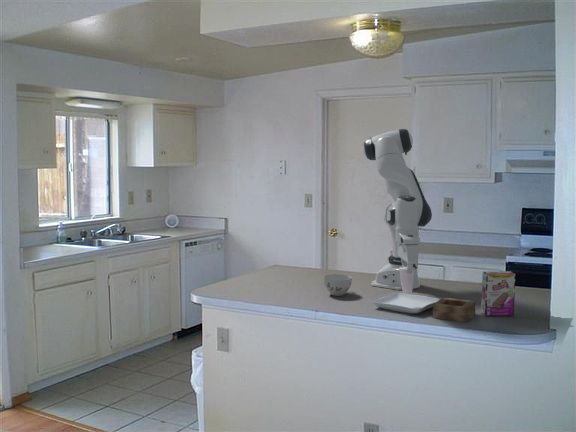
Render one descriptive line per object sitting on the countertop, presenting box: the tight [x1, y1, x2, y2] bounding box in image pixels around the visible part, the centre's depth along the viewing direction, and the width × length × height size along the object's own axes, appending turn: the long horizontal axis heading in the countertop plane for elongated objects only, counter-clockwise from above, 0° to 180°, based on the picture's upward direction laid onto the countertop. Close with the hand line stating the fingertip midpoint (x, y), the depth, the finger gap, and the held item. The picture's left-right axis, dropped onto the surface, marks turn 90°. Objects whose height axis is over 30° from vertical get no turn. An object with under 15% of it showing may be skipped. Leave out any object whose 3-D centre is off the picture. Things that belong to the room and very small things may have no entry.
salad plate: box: [371, 292, 441, 315], centre depth 243 cm, size 21×21×3 cm
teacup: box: [323, 273, 353, 297], centre depth 266 cm, size 15×12×8 cm
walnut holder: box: [432, 297, 476, 323], centre depth 229 cm, size 13×13×5 cm
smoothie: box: [399, 267, 415, 294], centre depth 241 cm, size 6×6×14 cm
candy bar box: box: [480, 270, 516, 317], centre depth 229 cm, size 11×5×16 cm, turn 92°
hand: (407, 271), depth 241 cm, fingers closed on smoothie, 6 cm apart
